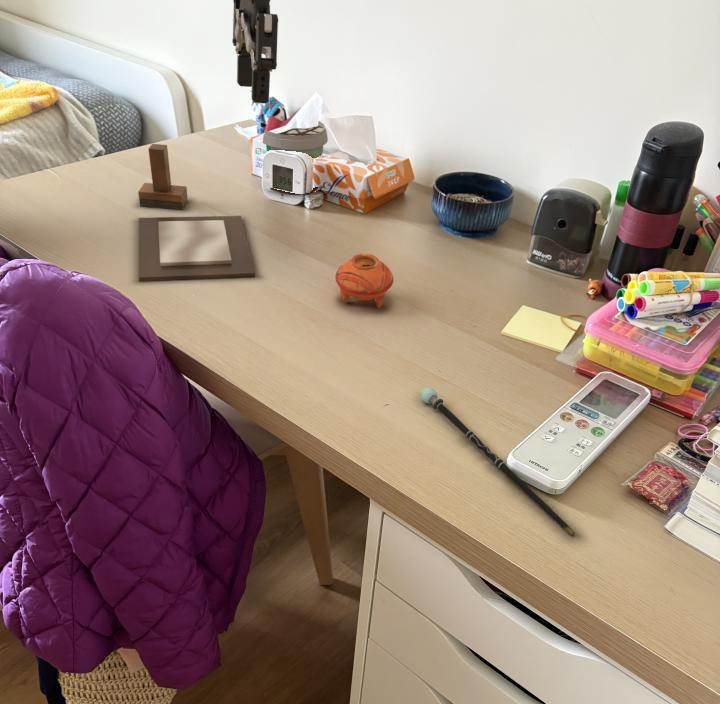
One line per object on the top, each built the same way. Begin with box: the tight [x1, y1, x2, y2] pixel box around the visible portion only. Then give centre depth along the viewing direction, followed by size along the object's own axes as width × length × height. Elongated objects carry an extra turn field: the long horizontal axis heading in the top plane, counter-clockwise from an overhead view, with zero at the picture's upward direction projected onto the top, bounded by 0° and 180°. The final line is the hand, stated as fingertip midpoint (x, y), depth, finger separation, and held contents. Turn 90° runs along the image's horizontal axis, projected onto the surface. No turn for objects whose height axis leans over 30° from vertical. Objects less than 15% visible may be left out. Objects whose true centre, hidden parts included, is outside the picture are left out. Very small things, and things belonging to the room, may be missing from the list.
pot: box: [334, 253, 394, 309], centre depth 98 cm, size 8×8×7 cm
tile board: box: [138, 215, 256, 282], centre depth 107 cm, size 16×20×1 cm
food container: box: [262, 120, 329, 196], centre depth 124 cm, size 12×6×10 cm, turn 129°
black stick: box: [420, 387, 576, 537], centre depth 76 cm, size 2×25×2 cm
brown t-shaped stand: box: [137, 143, 189, 211], centre depth 116 cm, size 7×4×9 cm, turn 88°
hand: (252, 94), depth 98 cm, fingers open, 8 cm apart
